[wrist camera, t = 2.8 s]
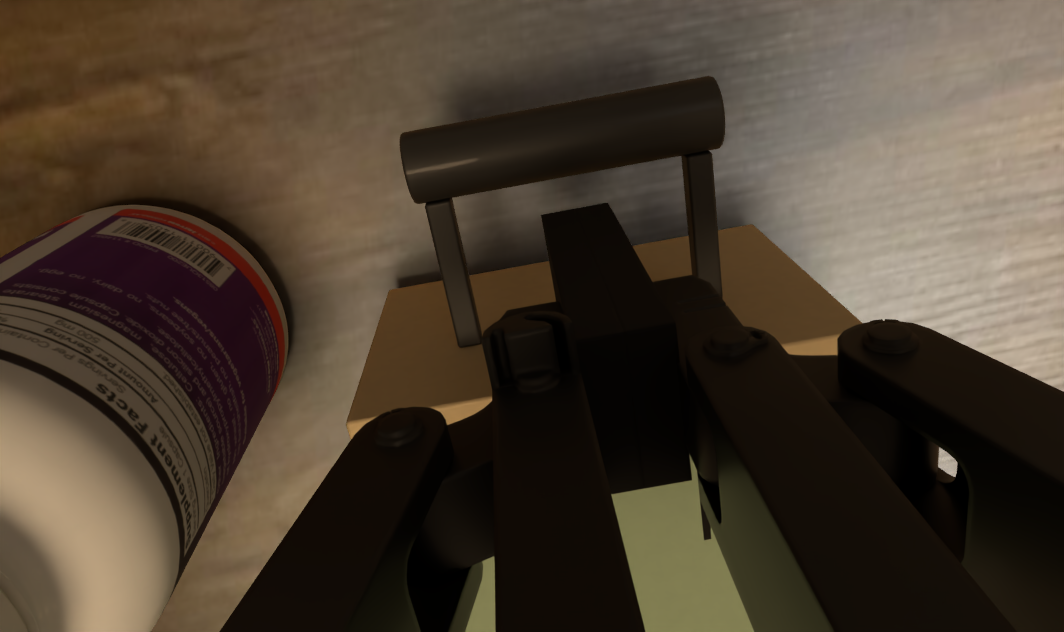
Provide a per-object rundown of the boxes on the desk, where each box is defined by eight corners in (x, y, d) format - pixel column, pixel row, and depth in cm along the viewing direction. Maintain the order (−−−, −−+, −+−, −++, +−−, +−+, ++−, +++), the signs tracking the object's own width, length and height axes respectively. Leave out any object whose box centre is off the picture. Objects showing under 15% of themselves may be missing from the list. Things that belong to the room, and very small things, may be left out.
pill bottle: (94, 441, 26) (-314, 914, 13) (-8, 218, 23) (-703, 543, 9) (326, 404, 26) (158, 841, 13) (256, 174, 22) (-70, 440, 9)
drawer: (341, 116, 21) (266, 183, 14) (743, 42, 21) (875, 71, 14) (475, 611, 29) (471, 818, 22) (770, 560, 28) (865, 752, 21)
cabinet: (386, 329, 25) (330, 518, 16) (764, 261, 24) (919, 414, 16) (475, 647, 31) (470, 913, 22) (780, 595, 30) (899, 842, 22)
